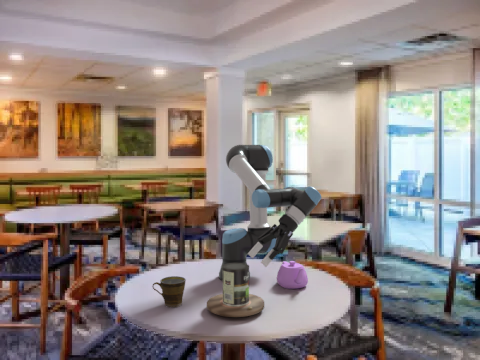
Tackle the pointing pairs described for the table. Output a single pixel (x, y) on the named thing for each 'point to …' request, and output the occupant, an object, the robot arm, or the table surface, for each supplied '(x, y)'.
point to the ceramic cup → (172, 290)
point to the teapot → (292, 275)
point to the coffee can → (235, 284)
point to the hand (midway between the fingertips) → (256, 260)
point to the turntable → (220, 309)
